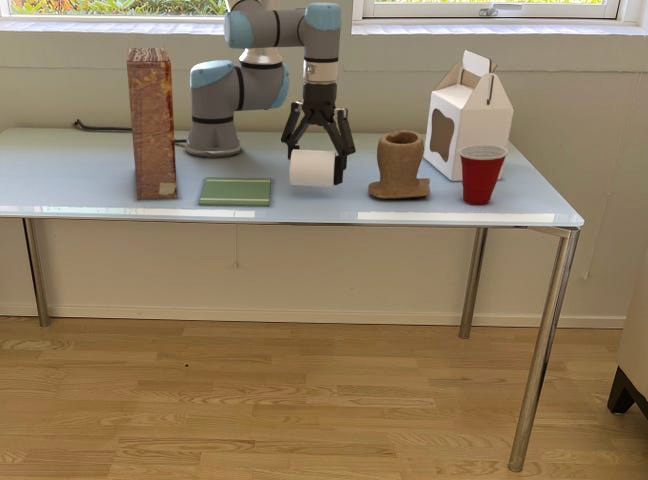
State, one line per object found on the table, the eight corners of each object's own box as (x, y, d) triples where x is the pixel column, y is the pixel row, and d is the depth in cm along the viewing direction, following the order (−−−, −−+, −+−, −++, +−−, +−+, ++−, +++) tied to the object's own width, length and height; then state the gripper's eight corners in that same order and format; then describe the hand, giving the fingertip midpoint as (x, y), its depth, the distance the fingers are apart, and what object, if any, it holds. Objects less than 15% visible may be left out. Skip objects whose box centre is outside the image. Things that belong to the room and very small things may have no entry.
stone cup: (374, 205, 165) (380, 138, 158) (364, 189, 175) (369, 126, 168) (439, 204, 166) (448, 138, 158) (425, 188, 176) (433, 125, 169)
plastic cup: (445, 194, 172) (452, 143, 166) (489, 193, 173) (497, 142, 167) (459, 209, 163) (468, 156, 157) (506, 208, 164) (516, 155, 158)
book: (136, 169, 189) (126, 45, 173) (172, 168, 190) (165, 44, 174) (137, 201, 167) (126, 62, 152) (177, 199, 168) (170, 61, 153)
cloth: (198, 205, 165) (198, 202, 165) (207, 178, 182) (206, 176, 182) (269, 206, 164) (269, 204, 164) (270, 179, 182) (270, 177, 181)
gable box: (501, 180, 182) (523, 61, 168) (451, 181, 181) (468, 62, 167) (468, 156, 201) (485, 47, 187) (422, 157, 200) (436, 48, 186)
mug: (332, 191, 165) (334, 156, 161) (288, 189, 167) (289, 154, 163) (336, 176, 176) (338, 143, 171) (295, 174, 177) (296, 141, 173)
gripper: (266, 77, 163) (265, 173, 174) (358, 90, 150) (350, 192, 161) (286, 73, 168) (283, 166, 179) (376, 85, 155) (368, 184, 167)
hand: (315, 178), depth 170 cm, fingers closed on mug, 12 cm apart
